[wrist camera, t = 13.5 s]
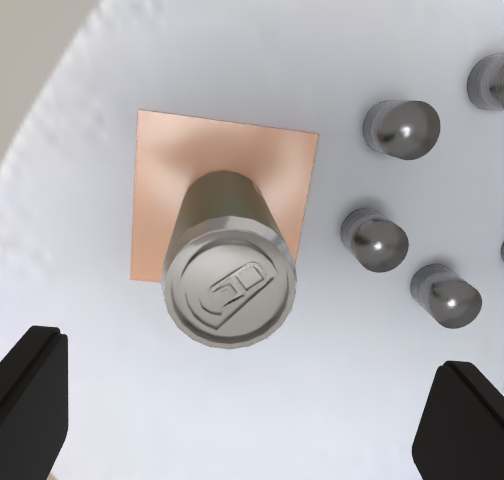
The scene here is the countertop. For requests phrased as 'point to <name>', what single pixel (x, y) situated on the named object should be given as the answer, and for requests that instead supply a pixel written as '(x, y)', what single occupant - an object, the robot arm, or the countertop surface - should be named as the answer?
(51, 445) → the robot arm
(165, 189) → the terracotta tile
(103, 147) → the countertop surface
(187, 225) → the beer can
